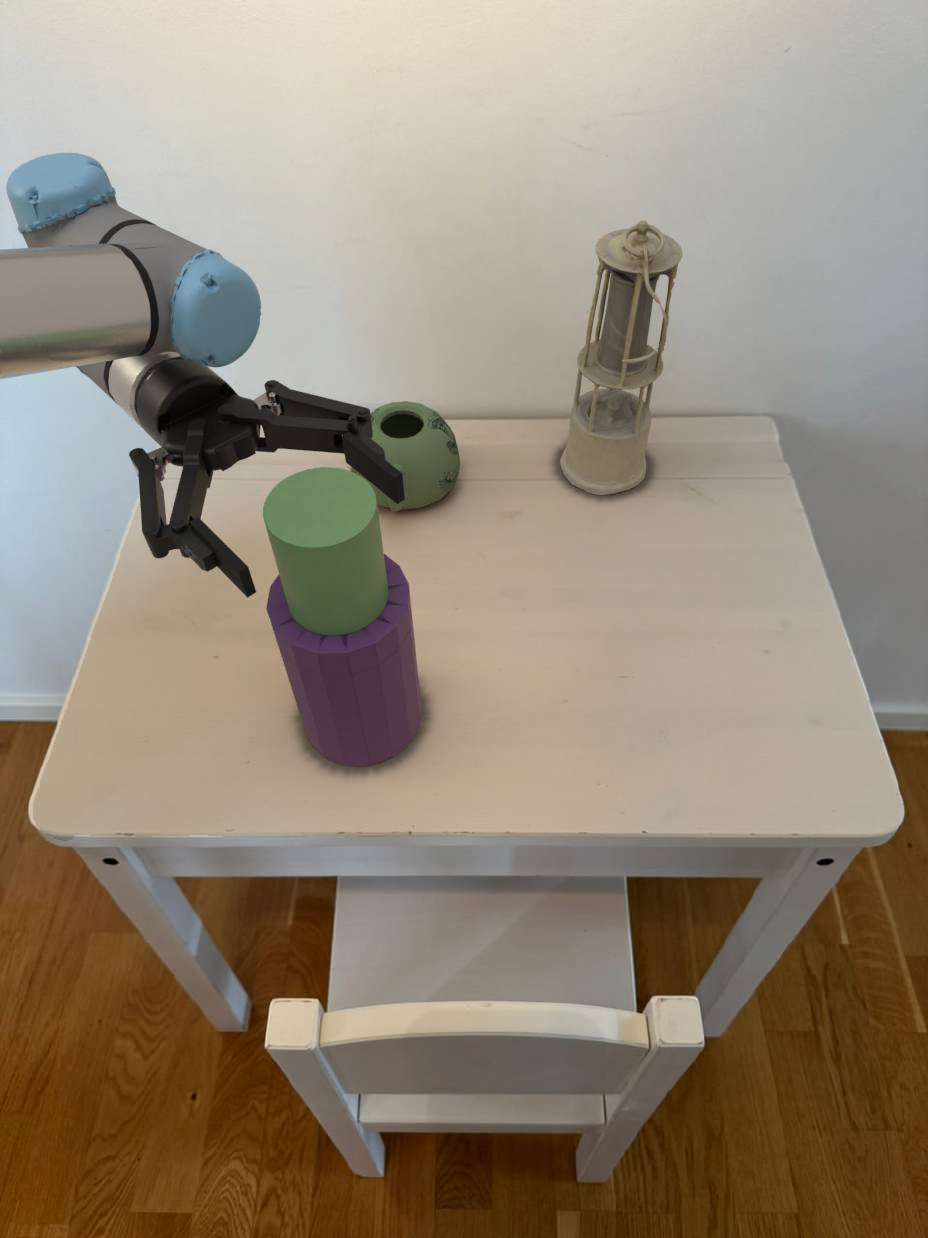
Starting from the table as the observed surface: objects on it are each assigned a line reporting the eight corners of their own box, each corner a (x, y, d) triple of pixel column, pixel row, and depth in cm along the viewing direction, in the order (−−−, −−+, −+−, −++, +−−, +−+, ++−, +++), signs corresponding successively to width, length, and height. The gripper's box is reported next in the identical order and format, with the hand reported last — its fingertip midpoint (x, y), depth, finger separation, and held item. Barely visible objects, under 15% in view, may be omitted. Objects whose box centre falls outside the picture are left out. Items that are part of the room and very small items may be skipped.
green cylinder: (267, 613, 67) (239, 523, 60) (323, 546, 72) (304, 454, 64) (354, 650, 65) (336, 562, 57) (407, 578, 69) (397, 487, 61)
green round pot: (361, 441, 107) (353, 383, 100) (465, 445, 106) (464, 387, 99) (339, 534, 97) (329, 477, 90) (453, 540, 96) (451, 483, 90)
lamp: (639, 436, 107) (685, 193, 83) (656, 510, 99) (711, 265, 75) (556, 438, 107) (578, 196, 83) (566, 512, 99) (593, 268, 75)
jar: (298, 767, 79) (258, 654, 65) (310, 667, 86) (276, 545, 72) (419, 766, 79) (406, 651, 65) (422, 666, 86) (410, 542, 72)
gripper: (304, 373, 80) (456, 489, 70) (54, 502, 70) (191, 659, 60) (290, 300, 74) (454, 415, 64) (15, 429, 64) (159, 590, 54)
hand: (327, 534), depth 62 cm, fingers open, 13 cm apart
